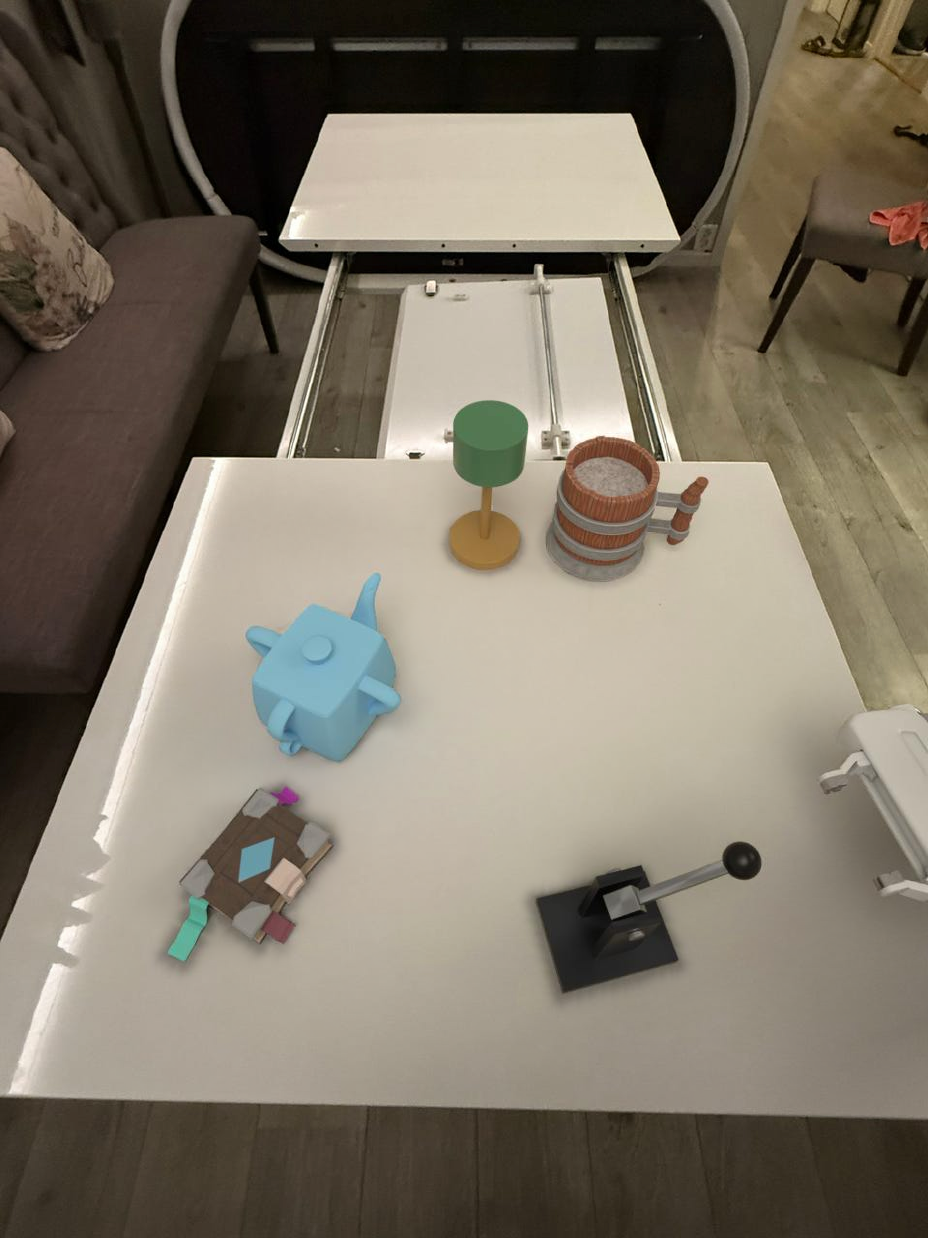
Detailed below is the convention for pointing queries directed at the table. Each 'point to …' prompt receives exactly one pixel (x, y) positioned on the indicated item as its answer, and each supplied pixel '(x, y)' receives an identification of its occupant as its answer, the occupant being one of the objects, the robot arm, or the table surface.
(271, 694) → the teapot
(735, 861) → the lever
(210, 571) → the table surface
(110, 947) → the table surface
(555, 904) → the switch bracket
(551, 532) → the mug
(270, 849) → the book
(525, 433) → the lamp
